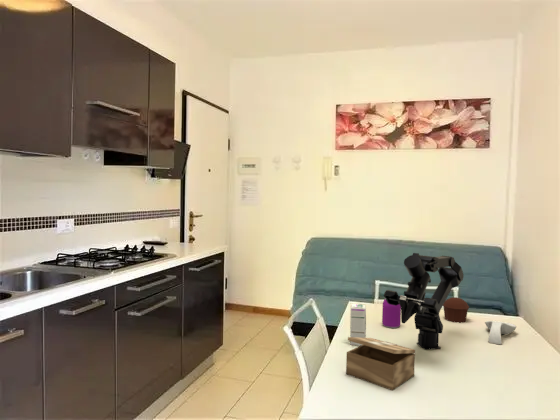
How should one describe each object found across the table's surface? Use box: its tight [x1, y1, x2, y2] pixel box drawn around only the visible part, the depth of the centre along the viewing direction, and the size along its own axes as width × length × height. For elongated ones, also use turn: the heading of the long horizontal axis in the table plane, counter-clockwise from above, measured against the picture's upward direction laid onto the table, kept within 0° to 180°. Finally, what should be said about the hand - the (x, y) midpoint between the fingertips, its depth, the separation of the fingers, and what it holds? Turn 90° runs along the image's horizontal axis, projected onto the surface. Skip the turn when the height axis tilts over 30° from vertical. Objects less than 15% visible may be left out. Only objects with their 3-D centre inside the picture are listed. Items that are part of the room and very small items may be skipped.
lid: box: [347, 336, 416, 354], centre depth 135 cm, size 14×16×1 cm
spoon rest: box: [484, 320, 517, 346], centre depth 176 cm, size 24×12×7 cm, turn 148°
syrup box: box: [349, 303, 367, 347], centre depth 164 cm, size 6×6×14 cm
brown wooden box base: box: [345, 345, 416, 391], centre depth 135 cm, size 14×16×7 cm
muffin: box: [442, 297, 470, 324], centre depth 198 cm, size 12×11×10 cm
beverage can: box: [381, 298, 402, 329], centre depth 186 cm, size 8×8×12 cm
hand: (402, 322), depth 146 cm, fingers closed
